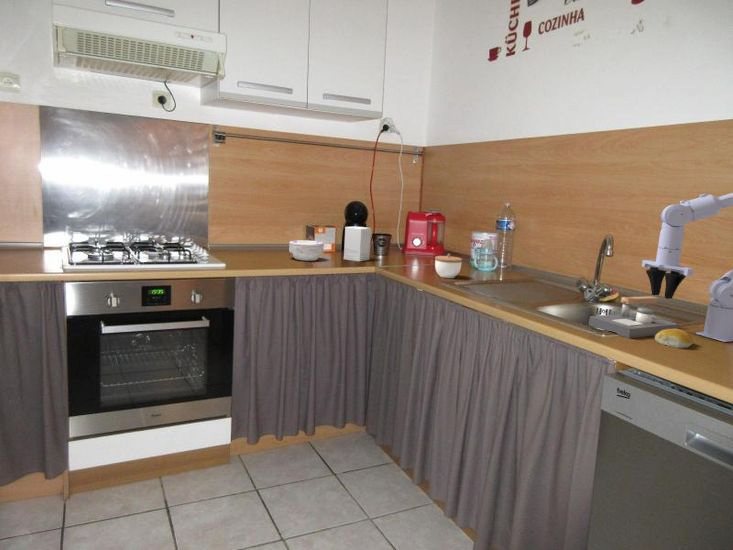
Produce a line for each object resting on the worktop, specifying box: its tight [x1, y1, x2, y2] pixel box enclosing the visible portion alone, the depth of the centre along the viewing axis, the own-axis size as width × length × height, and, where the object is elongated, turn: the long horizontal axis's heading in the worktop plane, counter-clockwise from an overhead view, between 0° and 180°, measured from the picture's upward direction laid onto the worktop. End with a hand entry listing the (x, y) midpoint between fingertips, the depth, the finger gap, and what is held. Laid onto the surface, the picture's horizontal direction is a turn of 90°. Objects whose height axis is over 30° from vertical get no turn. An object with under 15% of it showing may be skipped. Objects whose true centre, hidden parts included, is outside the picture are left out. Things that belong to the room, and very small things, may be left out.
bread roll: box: [654, 328, 694, 349], centre depth 139 cm, size 8×9×4 cm
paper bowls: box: [288, 239, 325, 262], centre depth 239 cm, size 15×15×8 cm
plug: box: [636, 306, 654, 324], centre depth 150 cm, size 4×4×6 cm
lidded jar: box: [434, 253, 463, 279], centre depth 217 cm, size 11×11×9 cm
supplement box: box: [343, 226, 372, 262], centre depth 248 cm, size 9×9×15 cm
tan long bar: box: [620, 295, 659, 305], centre depth 156 cm, size 12×3×2 cm, turn 112°
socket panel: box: [588, 303, 679, 339], centre depth 151 cm, size 20×13×6 cm, turn 117°
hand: (661, 296), depth 151 cm, fingers open, 4 cm apart
